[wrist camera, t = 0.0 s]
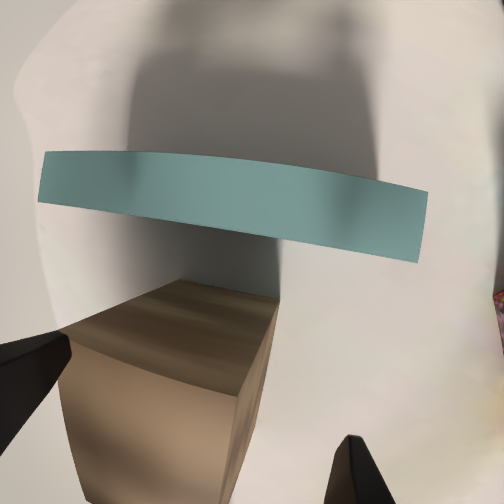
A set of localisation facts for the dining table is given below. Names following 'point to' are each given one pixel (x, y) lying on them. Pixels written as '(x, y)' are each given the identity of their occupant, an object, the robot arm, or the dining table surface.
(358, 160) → the dining table surface
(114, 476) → the walnut block
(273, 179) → the teal board
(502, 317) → the snack box
